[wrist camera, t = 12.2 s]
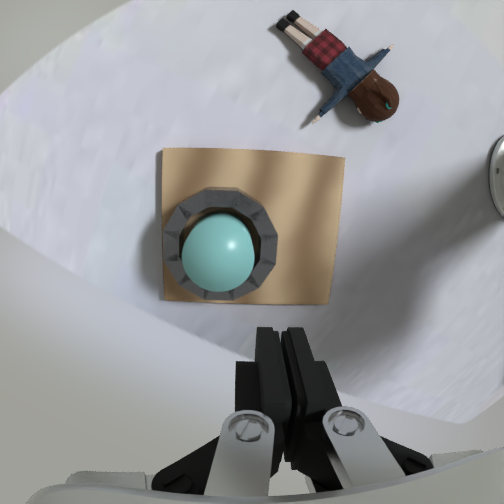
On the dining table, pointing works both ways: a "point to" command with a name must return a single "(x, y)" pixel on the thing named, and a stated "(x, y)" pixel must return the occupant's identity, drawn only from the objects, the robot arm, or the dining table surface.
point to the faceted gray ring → (221, 198)
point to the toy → (345, 70)
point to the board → (277, 207)
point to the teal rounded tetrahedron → (218, 251)
